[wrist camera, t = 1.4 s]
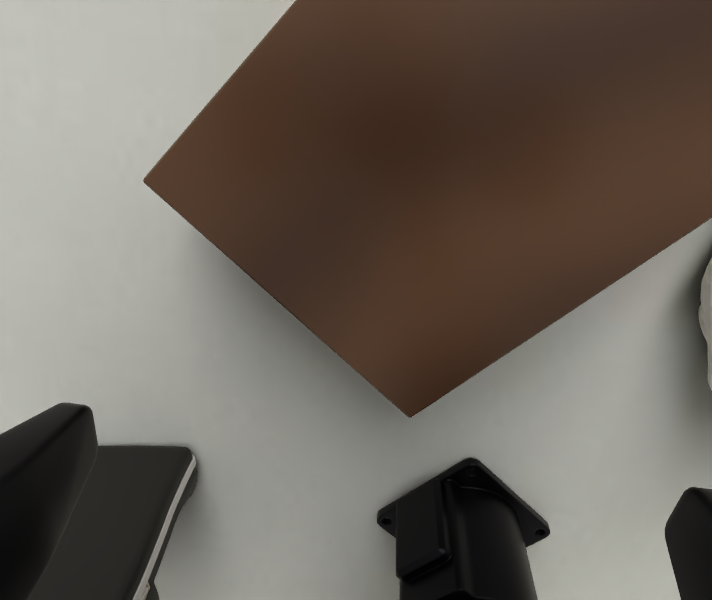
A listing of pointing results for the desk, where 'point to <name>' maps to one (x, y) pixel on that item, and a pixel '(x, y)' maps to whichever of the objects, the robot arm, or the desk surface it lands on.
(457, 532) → the robot arm
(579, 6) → the walnut keepsake box
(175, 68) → the desk surface
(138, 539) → the battery charger
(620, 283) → the desk surface
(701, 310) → the bust
